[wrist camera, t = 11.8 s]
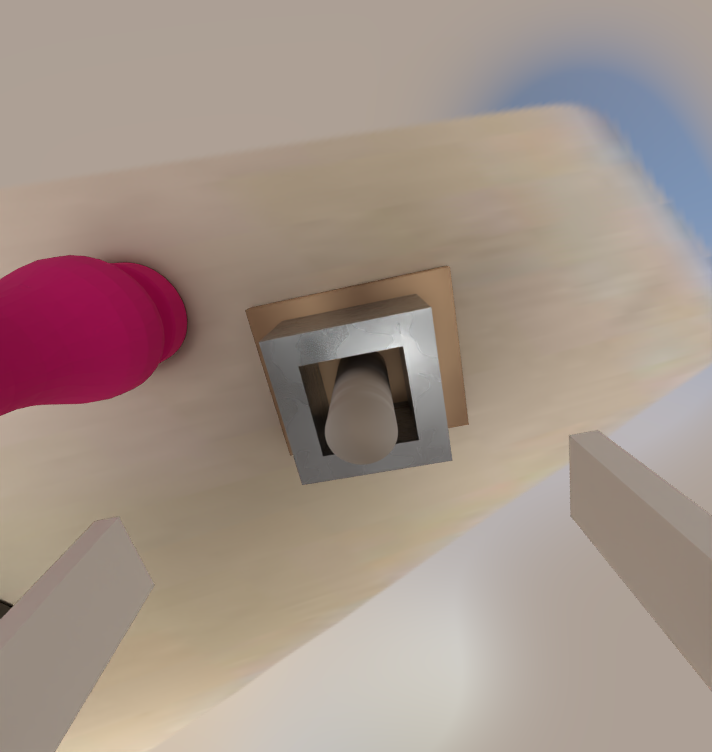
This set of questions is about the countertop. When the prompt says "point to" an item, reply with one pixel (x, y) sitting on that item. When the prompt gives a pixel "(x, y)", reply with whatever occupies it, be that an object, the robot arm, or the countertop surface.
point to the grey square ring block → (349, 338)
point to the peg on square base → (373, 364)
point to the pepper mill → (83, 330)
